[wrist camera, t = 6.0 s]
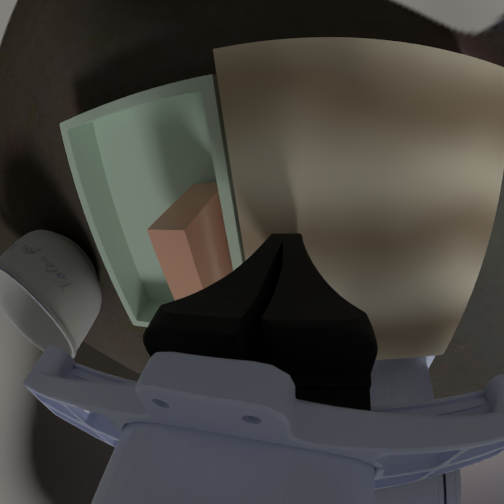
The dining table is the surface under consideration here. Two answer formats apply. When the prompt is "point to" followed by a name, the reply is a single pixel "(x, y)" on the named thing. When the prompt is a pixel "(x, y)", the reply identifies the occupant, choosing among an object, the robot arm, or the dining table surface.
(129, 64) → the dining table surface
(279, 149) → the beige banded block
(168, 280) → the tile
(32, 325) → the teacup
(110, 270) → the box
